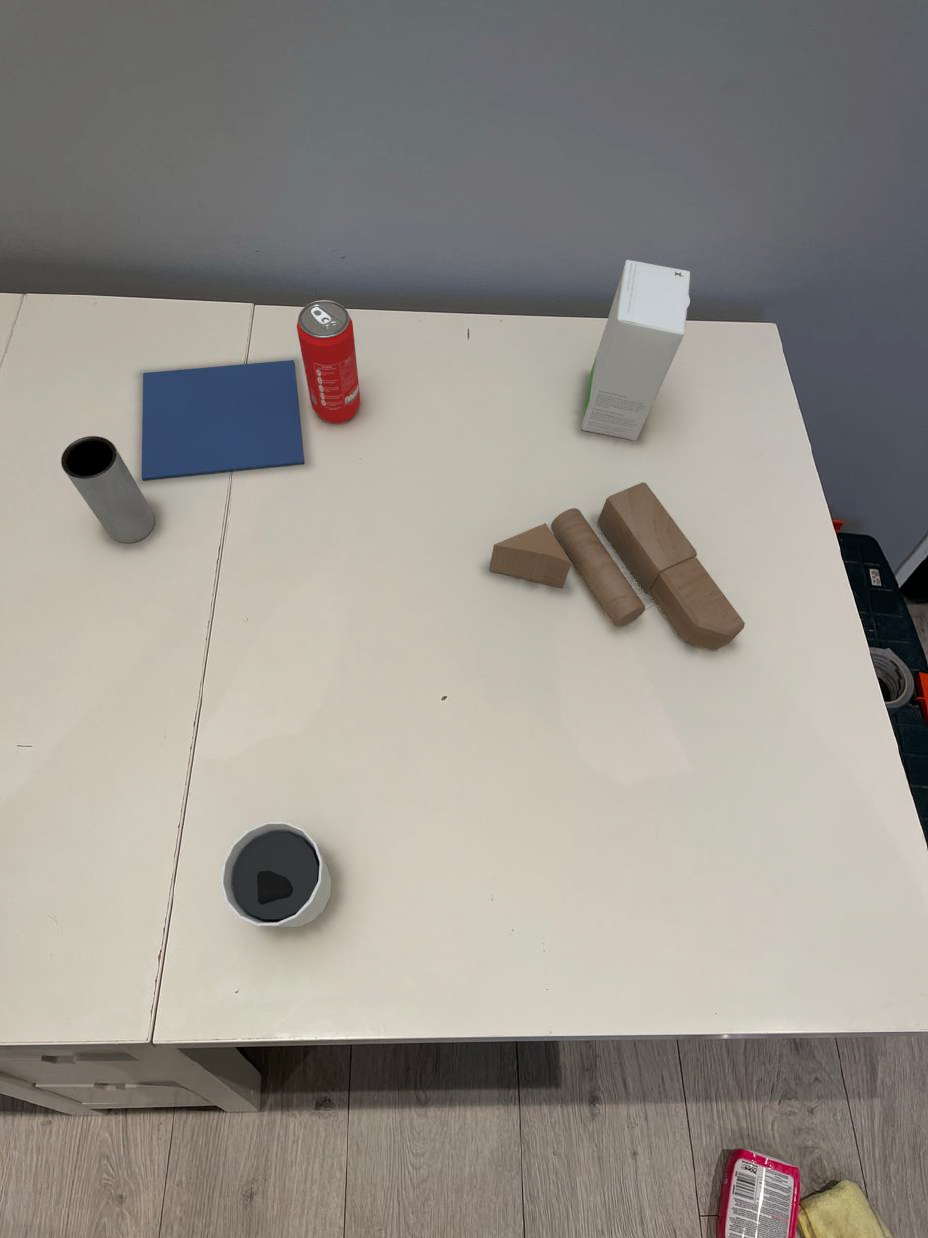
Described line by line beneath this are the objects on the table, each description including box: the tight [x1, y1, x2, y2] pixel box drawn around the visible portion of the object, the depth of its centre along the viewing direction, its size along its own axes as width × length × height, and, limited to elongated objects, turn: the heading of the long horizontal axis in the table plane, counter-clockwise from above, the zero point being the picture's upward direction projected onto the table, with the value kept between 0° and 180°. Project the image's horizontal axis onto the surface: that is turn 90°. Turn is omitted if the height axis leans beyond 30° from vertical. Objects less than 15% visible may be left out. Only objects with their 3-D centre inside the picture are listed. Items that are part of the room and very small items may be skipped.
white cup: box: [220, 821, 332, 928], centre depth 53 cm, size 7×7×10 cm
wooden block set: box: [488, 481, 746, 651], centre depth 68 cm, size 17×6×18 cm
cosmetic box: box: [580, 259, 691, 441], centre depth 74 cm, size 8×7×16 cm
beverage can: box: [296, 299, 361, 425], centre depth 74 cm, size 5×5×12 cm
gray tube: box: [60, 435, 156, 544], centre depth 67 cm, size 4×4×10 cm
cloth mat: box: [141, 359, 305, 481], centre depth 77 cm, size 16×14×1 cm
